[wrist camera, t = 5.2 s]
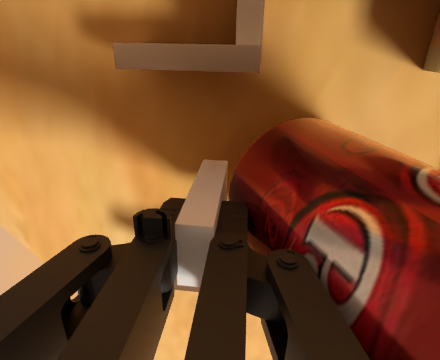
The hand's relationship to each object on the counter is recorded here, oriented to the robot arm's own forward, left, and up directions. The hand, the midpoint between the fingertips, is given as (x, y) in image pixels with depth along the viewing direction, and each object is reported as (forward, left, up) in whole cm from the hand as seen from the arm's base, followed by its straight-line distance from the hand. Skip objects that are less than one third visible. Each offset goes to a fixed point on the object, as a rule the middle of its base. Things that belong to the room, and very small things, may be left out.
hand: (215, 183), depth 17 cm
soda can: (0, +4, -1) cm, 4 cm away
